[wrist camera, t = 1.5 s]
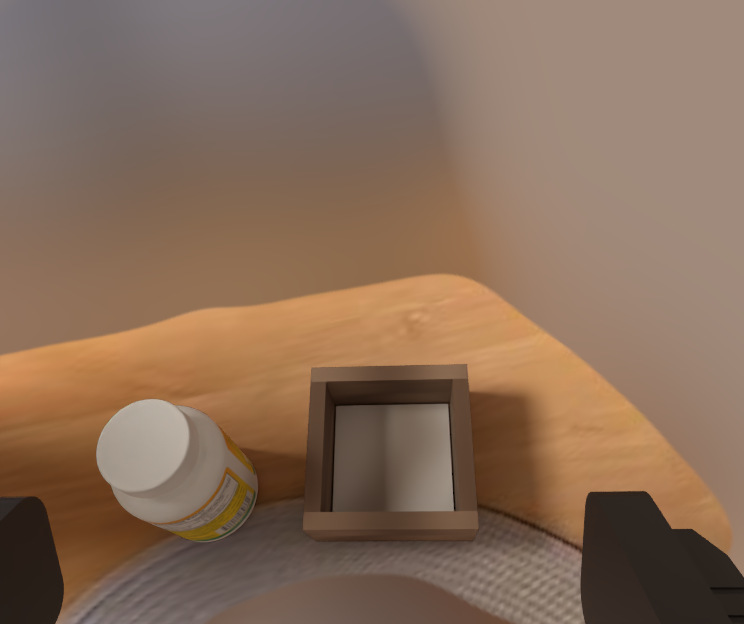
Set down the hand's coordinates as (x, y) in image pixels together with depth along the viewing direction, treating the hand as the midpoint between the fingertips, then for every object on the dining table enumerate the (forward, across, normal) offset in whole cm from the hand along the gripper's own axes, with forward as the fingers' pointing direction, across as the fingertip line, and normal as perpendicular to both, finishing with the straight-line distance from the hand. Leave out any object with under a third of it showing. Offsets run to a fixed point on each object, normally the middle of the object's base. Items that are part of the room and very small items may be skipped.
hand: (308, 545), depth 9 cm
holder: (+22, 0, +12) cm, 26 cm away
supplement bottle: (+22, +10, +13) cm, 27 cm away
